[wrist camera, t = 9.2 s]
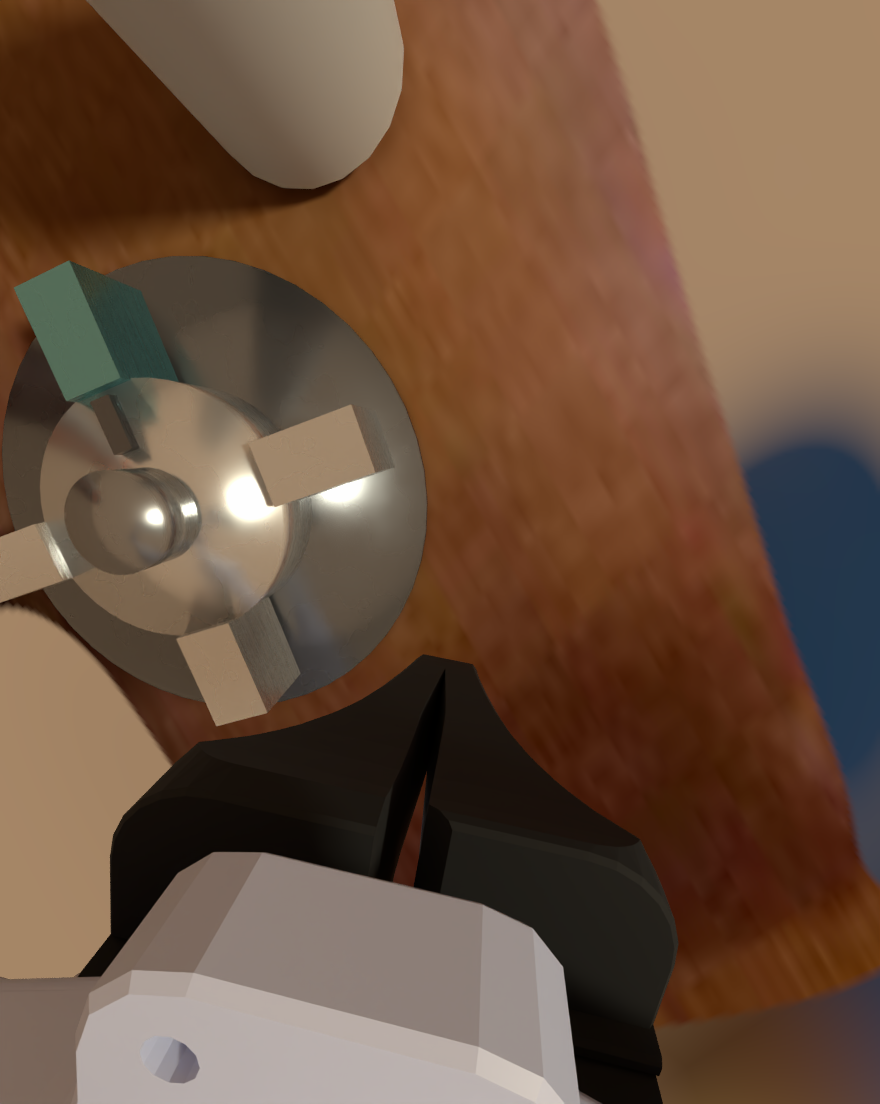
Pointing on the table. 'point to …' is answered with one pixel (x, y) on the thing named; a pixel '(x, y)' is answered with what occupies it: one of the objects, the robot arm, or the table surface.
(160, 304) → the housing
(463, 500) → the table surface
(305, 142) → the can
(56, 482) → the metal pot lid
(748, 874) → the table surface
